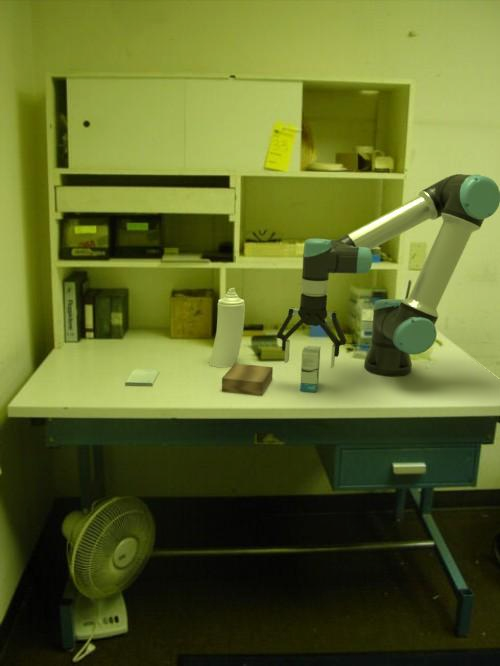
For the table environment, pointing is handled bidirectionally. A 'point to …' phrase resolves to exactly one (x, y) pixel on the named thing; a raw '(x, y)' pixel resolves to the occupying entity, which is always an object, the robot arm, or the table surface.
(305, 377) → the ink box
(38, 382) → the table surface
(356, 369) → the table surface
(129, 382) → the hard drive
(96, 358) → the table surface
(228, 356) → the spray can
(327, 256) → the robot arm
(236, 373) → the wooden block
